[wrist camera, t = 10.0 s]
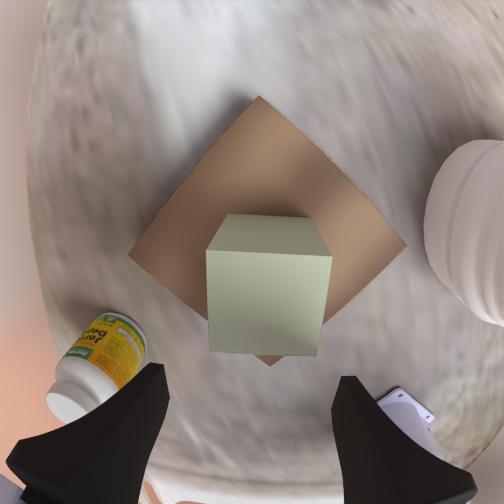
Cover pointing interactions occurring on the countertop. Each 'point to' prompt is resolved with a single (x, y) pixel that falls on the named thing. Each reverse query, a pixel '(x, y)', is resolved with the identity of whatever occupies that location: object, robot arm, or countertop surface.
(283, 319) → the sage block
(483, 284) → the honey pot
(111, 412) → the robot arm
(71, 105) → the countertop surface
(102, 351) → the supplement bottle
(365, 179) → the countertop surface
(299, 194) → the walnut base
